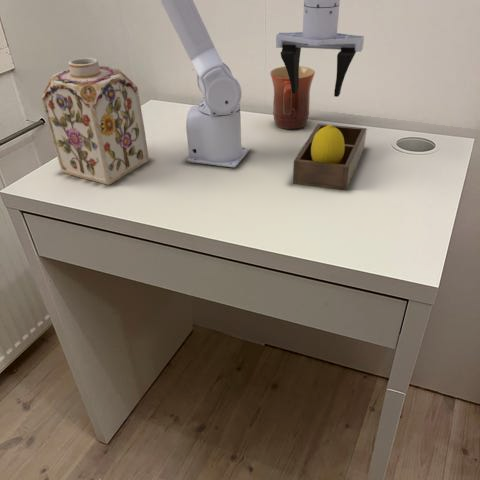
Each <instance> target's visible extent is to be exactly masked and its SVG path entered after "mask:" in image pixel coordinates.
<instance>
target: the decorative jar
mask: <svg viewBox="0 0 480 480" xmlns="http://www.w3.org/2000/svg"><path fill="white" fill-rule="evenodd" d="M139 94H140V93H139V89H138V86H137V85H136V84H135V83H134V82H133V81H132V80H131V79H129V77H128V76H127V75H126V74H125V73H123V72H122V71H121V69H119V68H117V67H112V66H106V65H100V64H99V60H98V59H97V58H94V57H81V58H80V57H79V58H74V59H71V60H69V62H68V68H67V69H65V70H62V71H59V72H57V73H55V74H53V75H52V76H51V78H50V79H49V81H48V84H46V87H45V88H44V91H43V94H42V95H41V101H42V105H43V108H44V113H45V116H46V120H47V124H48V128H49V131H50V135H51V139H52V143H53V146H54V150H55V154H56V157H57V160H58V164H59V167H60V170H61V172H62V173H63V174H67V175H70V176H73V177H77V178H81V179H85V180H87V181H93V182H96V183H100V184H104V185H107V186H109V185H112V184H114V183H115V182H116V181H118V180H120V179H121V178H122V177H123V178H124V176H126V175H128V174H129V173H131V172H133V171H134V170H136V169H138V168H140V167H141V166H142V165H144V164H146V163H148V162H149V161H150V158H149V151H148V143H147V137H146V130H145V129H146V128H145V124H144V117H143V111H142V106H141V100H140V95H139Z"/></svg>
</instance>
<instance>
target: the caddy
mask: <svg viewBox="0 0 480 480" xmlns="http://www.w3.org/2000/svg"><path fill="white" fill-rule="evenodd" d="M327 125H328V124H327V123H325V124H324V123H318V124H317V125H316V126H315V128H314V129H313V131H312V132H311V133H310V136H309V137H308V139H307V140H306V142H305V143H304V144H303V146H302V147H301V149H300V151H299V152H298V154H297V156H296V157H295V158H294V160H293V171H292V184H295V185H302V186H309V187H319V188H327V189H333V190H341V191H347V189H348V187H349V185H350V183H351V181H352V178H353V176H354V173H355V171H356V169H357V166H358V164H359V162H360V159H361V157H362V155H363V152H364V150H365V144H366V137H367V130H368V129H367V128H366V127H357V126H349V125H347V126H346V125H337V124H335V125H334V124H331V125H332V126H333V127H335V128H337V129H338V130H340V132H341V133H342V135H343V137H344V144H345V150H344V155H343V158H342V160H341V162H340V163H339V164H334V163H326V162H317V161H313V160H312V156H311V145H312V141H313V138H314V136H315V134H316V133H317V132H318V131H319V130H320V129H321V128H323V127H326V126H327Z"/></svg>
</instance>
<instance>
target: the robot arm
mask: <svg viewBox="0 0 480 480" xmlns="http://www.w3.org/2000/svg"><path fill="white" fill-rule="evenodd" d="M159 1H160V3H161V5H162V7H163V9H164V10H165V13H166V15H167V17H168V19H169V21H170V23H171V24H172V27H173V29H174V30H175V32H176V34H177V36H178V39H179V41H180V42H181V45H182V46H183V48H184V51H185V52H186V54H187V57H188V59H189V60H190V62H191V65H192V66H193V68H194V70H195V72H196V80H197V81H196V83H197V87H198V89H199V91H200V92H201V94H202V98H201V101H200V103H199V104H198V105H193V106H191V107H190V108H189V110H188V112H187V114H186V120H185V121H186V122H185V130H186V139H187V148H188V150H187V151H188V158H187V162H189V163H196V164H202V165H211V166H217V167H228V168H236V167H237V166H238V165H239V164H240V162H241V161H242V160H243V159H244V158H245V157H246V155H247V154H248V153H249V152H250V149H249V148H248V147H242V123H241V122H242V119H241V104H240V103H241V100H242V93H243V92H242V87H241V84H240V83H239V81H238V79H236V77H234V75H233V72H232V70H231V68H229V66H228V65H227V64H226V63H225V62H223V60H222V58H221V56H220V55H219V53H218V51H217V48H216V46H215V45H214V42H213V39H212V38H211V36H210V33H209V32H208V29H207V27H206V25H205V22H204V21H203V18H202V17H201V14H200V12H199V10H198V8H197V6H196V4H195V2H194V0H159ZM340 4H341V0H303V13H302V31H295V32H278V33H277V34H276V35H275V48H278V49H281V52H280V58H281V60H282V62H283V64H284V67H286V69H287V72H288V75H289V79H290V84H291V90H292V93H294V94H295V93H296V92H297V91H298V86H299V66H300V61H301V52H302V49H317V50H318V49H319V50H320V49H321V50H339V51H338V53H337V55H336V76H335V77H336V78H335V84H334V93H333V96H334V97H335V98H336V97H337V98H338V97H339V96H340V95H341V91H342V86H343V83H344V80H345V77H346V74H347V72H348V71H349V70H348V69H349V67H350V64H351V63H352V61H353V58H354V57H355V55H356V53H357V52H359V53H361V52H362V51H363V49H364V44H365V43H364V42H365V41H364V40H365V35H354V34H349V33H348V34H347V33H341V32H340V33H339V32H338V26H339V14H340Z"/></svg>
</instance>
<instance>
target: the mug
mask: <svg viewBox="0 0 480 480" xmlns="http://www.w3.org/2000/svg"><path fill="white" fill-rule="evenodd" d="M269 74H270V78H271V82H272V87H273V105H272V109H273V110H272V115H273V116H272V117H273V121H274V124H275V125H276V126H277V127H278V128H281V129H283V130H284V129H285V130H298V129H301V128H303V127H305V126H306V125H307V124H308V120H309V116H310V98H311V97H310V95H311V87H312V84H313V80H314V78H315V74H316V72H315V70H314V69H312V68H311V67H307V66H301V65H299V86H298V91H297V92H296V93H295V94H294V93H292V90H291V84H290V79H289V75H288V72H287V69H286V67H285V66H280V67H276V68H274V69H272V70H270V71H269Z"/></svg>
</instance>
